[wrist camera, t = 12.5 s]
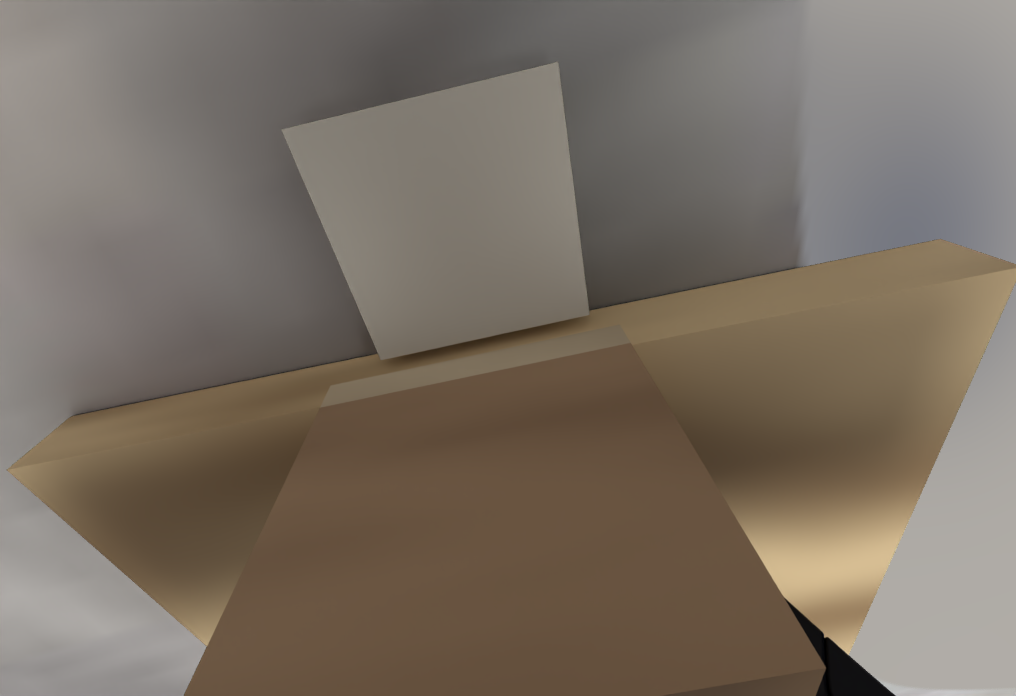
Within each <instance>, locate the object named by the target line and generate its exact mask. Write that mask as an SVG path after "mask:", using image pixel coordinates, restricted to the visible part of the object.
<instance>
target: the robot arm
mask: <svg viewBox="0 0 1016 696" xmlns="http://www.w3.org/2000/svg"><path fill="white" fill-rule="evenodd" d="M784 599H785V600H786V602H787V604H788V605H789V607H790V609H791V610H792V612H793V614H794V615H795V617H796V619H797V620H798V622H799V623H800V625H801V627H802V628H803V630H804V632H805V633H806V635H807V637H808V638H809V640H810V642H811V643H812V645H813V647H814V648H815V650H816V652H817V653H818V655H819V657H820V658H821V660H822V662H823V663H824V665H825V667H826V670H825V672H824V675H823V677H822V680H821V683H820V685H819V688H818V691H817V693H816V696H895V695H894V694H893V693H892V692H890V691H889V690H888V689H887V688H886V687H885V686H883V685H882V684H881V683H880V682H879V681H878V680H876V679H875V678H874V677H873V676H872V675H871V674H870V673H868V672H867V671H866V670H865V669H864V668H863V667H861V666H860V665H859V664H858V663H857V662H856V661H855V660H853V659H852V658H851V657H850V656H849V655H848V654H847V653H846V652H845V651H843V650H842V649H841V648H840V647H839V646H838V645H837V644H836V643H835V642H834V641H832V640H831V639H830V638H829V637H825V638H824V633H823V632H822V631H821V630H820V629H819V628H818V627H817V626H816V625H814V624H813V623H812V622H811V621H810V620H809V619H808V618H807V617H806V616H804V615H803V614H802V613H801V612H800V611H799V610H798V609H797V608H796V607H794V606H793V605H792V604H791V603H790V602H789V601H788V600H787V599H786V598H785V597H784Z"/></svg>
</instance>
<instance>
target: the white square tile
mask: <svg viewBox="0 0 1016 696" xmlns="http://www.w3.org/2000/svg"><path fill="white" fill-rule="evenodd" d="M281 131H282V133H283V135H284V137H285V140H286V142H287V144H288V147H289V149H290V151H291V154H292V156H293V158H294V161H295V163H296V165H297V168H298V170H299V172H300V175H301V177H302V179H303V181H304V184H305V186H306V188H307V191H308V193H309V195H310V198H311V200H312V202H313V205H314V207H315V209H316V212H317V214H318V216H319V219H320V221H321V223H322V225H323V228H324V230H325V232H326V235H327V237H328V239H329V242H330V244H331V246H332V249H333V251H334V253H335V256H336V258H337V260H338V263H339V265H340V267H341V270H342V272H343V274H344V276H345V279H346V281H347V283H348V286H349V288H350V290H351V293H352V295H353V297H354V300H355V302H356V304H357V307H358V309H359V311H360V314H361V316H362V318H363V320H364V323H365V325H366V327H367V330H368V332H369V334H370V337H371V339H372V341H373V344H374V346H375V348H376V351H377V353H378V355H379V358H380V360H385V359H389V358H394V357H399V356H403V355H408V354H412V353H417V352H422V351H426V350H431V349H435V348H440V347H445V346H449V345H454V344H458V343H463V342H468V341H472V340H477V339H481V338H486V337H490V336H495V335H500V334H504V333H509V332H513V331H518V330H523V329H527V328H532V327H536V326H541V325H546V324H550V323H555V322H559V321H564V320H568V319H573V318H578V317H582V316H587V315H590V313H589V305H588V297H587V289H586V281H585V273H584V265H583V257H582V249H581V241H580V233H579V225H578V217H577V209H576V200H575V192H574V184H573V176H572V168H571V160H570V152H569V144H568V136H567V128H566V120H565V112H564V104H563V96H562V88H561V80H560V71H559V63H558V62H554V63H550V64H546V65H542V66H538V67H534V68H530V69H526V70H522V71H518V72H514V73H510V74H505V75H501V76H497V77H493V78H489V79H485V80H481V81H477V82H473V83H469V84H465V85H461V86H456V87H452V88H448V89H444V90H440V91H436V92H432V93H428V94H424V95H420V96H416V97H412V98H408V99H403V100H399V101H395V102H391V103H387V104H383V105H379V106H375V107H371V108H367V109H363V110H359V111H354V112H350V113H346V114H342V115H338V116H334V117H330V118H326V119H322V120H318V121H314V122H310V123H305V124H301V125H297V126H293V127H289V128H285V129H281Z"/></svg>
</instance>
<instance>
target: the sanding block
mask: <svg viewBox="0 0 1016 696" xmlns="http://www.w3.org/2000/svg"><path fill="white" fill-rule="evenodd" d="M825 670H826V667H825V665H824V663H823V662H822V660H821V658H820V657H819V655H818V653H817V652H816V650H815V648H814V647H813V645H812V643H811V642H810V640H809V638H808V637H807V635H806V633H805V632H804V630H803V628H802V627H801V625H800V623H799V622H798V620H797V619H796V617H795V615H794V614H793V612H792V610H791V609H790V607H789V605H788V604H787V602H786V600H785V599H784V597H783V595H782V594H781V592H780V590H779V589H778V587H777V585H776V584H775V582H774V580H773V579H772V577H771V575H770V574H769V572H768V570H767V569H766V567H765V565H764V564H763V562H762V560H761V559H760V557H759V555H758V554H757V552H756V550H755V549H754V547H753V545H752V544H751V542H750V540H749V539H748V537H747V535H746V534H745V532H744V530H743V529H742V527H741V525H740V524H739V522H738V520H737V519H736V517H735V515H734V514H733V512H732V510H731V509H730V507H729V505H728V504H727V502H726V500H725V499H724V497H723V495H722V494H721V492H720V490H719V489H718V487H717V486H716V484H715V482H714V481H713V479H712V477H711V476H710V474H709V472H708V471H707V469H706V467H705V466H704V464H703V462H702V461H701V459H700V457H699V456H698V454H697V452H696V451H695V449H694V447H693V446H692V444H691V442H690V441H689V439H688V437H687V436H686V434H685V432H684V431H683V429H682V427H681V426H680V424H679V422H678V421H677V419H676V417H675V416H674V414H673V412H672V411H671V409H670V407H669V406H668V404H667V402H666V401H665V399H664V397H663V396H662V394H661V392H660V391H659V389H658V387H657V386H656V384H655V382H654V381H653V379H652V377H651V376H650V374H649V372H648V371H647V369H646V367H645V366H644V364H643V362H642V361H641V359H640V357H639V356H638V354H637V353H636V351H635V349H634V348H633V346H632V344H631V343H630V341H629V339H628V338H627V336H626V334H625V333H624V331H623V329H622V328H621V326H620V325H615V326H610V327H605V328H601V329H596V330H591V331H587V332H582V333H577V334H572V335H568V336H563V337H558V338H553V339H549V340H544V341H539V342H534V343H530V344H525V345H520V346H515V347H511V348H506V349H501V350H497V351H492V352H487V353H482V354H478V355H473V356H468V357H463V358H459V359H454V360H449V361H444V362H440V363H435V364H430V365H426V366H421V367H416V368H411V369H407V370H402V371H397V372H392V373H388V374H383V375H378V376H373V377H369V378H364V379H359V380H355V381H350V382H345V383H340V384H336V385H331V386H330V388H329V390H328V392H327V394H326V396H325V398H324V400H323V402H322V405H321V407H320V409H319V411H318V413H317V415H316V417H315V419H314V421H313V424H312V426H311V428H310V430H309V432H308V434H307V436H306V438H305V440H304V443H303V445H302V447H301V449H300V451H299V453H298V455H297V457H296V459H295V462H294V464H293V466H292V468H291V470H290V472H289V474H288V476H287V478H286V481H285V483H284V485H283V487H282V489H281V491H280V493H279V495H278V498H277V500H276V502H275V504H274V506H273V508H272V510H271V512H270V514H269V517H268V519H267V521H266V523H265V525H264V527H263V529H262V531H261V533H260V536H259V538H258V540H257V542H256V544H255V546H254V548H253V550H252V552H251V555H250V557H249V559H248V561H247V563H246V565H245V567H244V569H243V571H242V574H241V576H240V578H239V580H238V582H237V584H236V586H235V588H234V590H233V593H232V595H231V597H230V599H229V601H228V603H227V605H226V607H225V609H224V612H223V614H222V616H221V618H220V620H219V622H218V624H217V626H216V628H215V631H214V633H213V635H212V637H211V639H210V641H209V643H208V645H207V647H206V650H205V652H204V654H203V656H202V658H201V660H200V662H199V664H198V667H197V669H196V671H195V673H194V675H193V677H192V679H191V681H190V683H189V686H188V688H187V690H186V692H185V694H184V696H816V693H817V691H818V688H819V685H820V683H821V680H822V677H823V675H824V672H825Z"/></svg>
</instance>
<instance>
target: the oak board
mask: <svg viewBox="0 0 1016 696" xmlns="http://www.w3.org/2000/svg"><path fill="white" fill-rule="evenodd" d="M1015 283H1016V264H1013V263H1010V262H1007V261H1005V260H1002V259H998V258H996V257H993V256H990V255H987V254H984V253H981V252H978V251H975V250H972V249H969V248H966V247H962V246H960V245H957V244H954V243H951V242H948V241H945V240H942V239H938V240H933V241H928V242H923V243H918V244H914V245H909V246H904V247H898V248H894V249H889V250H884V251H879V252H874V253H869V254H864V255H860V256H854V257H850V258H845V259H840V260H835V261H830V262H825V263H820V264H815V265H810V266H805V267H800V268H796V269H791V270H786V271H781V272H776V273H771V274H766V275H761V276H756V277H752V278H747V279H742V280H737V281H732V282H727V283H722V284H717V285H712V286H707V287H703V288H698V289H693V290H688V291H683V292H678V293H673V294H668V295H663V296H658V297H654V298H649V299H644V300H639V301H634V302H629V303H624V304H619V305H614V306H609V307H605V308H600V309H595V310H590V311H589V313H590V315H587V316H582V317H578V318H573V319H568V320H564V321H559V322H555V323H550V324H546V325H541V326H536V327H532V328H527V329H523V330H518V331H513V332H509V333H504V334H500V335H495V336H490V337H486V338H481V339H477V340H472V341H468V342H463V343H458V344H454V345H449V346H445V347H440V348H435V349H431V350H426V351H422V352H417V353H412V354H408V355H403V356H399V357H394V358H389V359H385V360H380V358H379V355H378V354H374V355H370V356H365V357H360V358H355V359H350V360H345V361H340V362H335V363H330V364H325V365H321V366H316V367H311V368H306V369H301V370H296V371H291V372H286V373H281V374H276V375H272V376H267V377H262V378H257V379H252V380H247V381H242V382H237V383H232V384H227V385H223V386H218V387H213V388H208V389H203V390H198V391H193V392H188V393H183V394H178V395H174V396H169V397H164V398H159V399H154V400H149V401H144V402H139V403H134V404H130V405H125V406H120V407H115V408H110V409H105V410H100V411H95V412H90V413H85V414H81V415H76V416H71V417H70V418H68V419H67V420H66V421H65V422H64V423H62V424H61V425H60V426H59V427H58V428H56V429H55V430H54V431H53V432H52V433H50V434H49V435H48V436H47V437H46V438H44V439H43V440H42V441H41V442H40V443H38V444H37V445H36V446H35V447H34V448H32V449H31V450H30V451H29V452H28V453H26V454H25V455H24V456H23V457H22V458H20V459H19V460H18V461H17V462H16V463H14V464H13V465H12V466H11V467H10V468H8V469H7V471H8V472H9V473H11V474H12V475H13V476H14V477H15V478H16V479H17V480H19V481H20V482H21V483H22V484H23V485H24V486H25V487H27V488H28V489H29V490H30V491H31V492H32V493H33V494H34V495H36V496H37V497H38V498H39V499H40V500H41V501H42V502H44V503H45V504H46V505H47V506H48V507H49V508H50V509H51V510H53V511H54V512H55V513H56V514H57V515H58V516H59V517H61V518H62V519H63V520H64V521H65V522H66V523H67V524H69V525H70V526H71V527H72V528H73V529H74V530H75V531H76V532H78V533H79V534H80V535H81V536H82V537H83V538H84V539H86V540H87V541H88V542H89V543H90V544H91V545H92V546H93V547H95V548H96V549H97V550H98V551H99V552H100V553H101V554H103V555H104V556H105V557H106V558H107V559H108V560H109V561H111V562H112V563H113V564H114V565H115V566H116V567H117V568H118V569H120V570H121V571H122V572H123V573H124V574H125V575H126V576H128V577H129V578H130V579H131V580H132V581H133V582H134V583H135V584H137V585H138V586H139V587H140V588H141V589H142V590H143V591H145V592H146V593H147V594H148V595H149V596H150V597H151V598H153V599H154V600H155V601H156V602H157V603H158V604H159V605H160V606H162V607H163V608H164V609H165V610H166V611H167V612H168V613H170V614H171V615H172V616H173V617H174V618H175V619H176V620H177V621H179V622H180V623H181V624H182V625H183V626H184V627H185V628H187V629H188V630H189V631H190V632H191V633H192V634H193V635H195V636H196V637H197V638H198V639H199V640H200V641H201V642H202V643H204V644H205V645H206V646H207V645H208V643H209V641H210V639H211V637H212V635H213V633H214V631H215V628H216V626H217V624H218V622H219V620H220V618H221V616H222V614H223V612H224V609H225V607H226V605H227V603H228V601H229V599H230V597H231V595H232V593H233V590H234V588H235V586H236V584H237V582H238V580H239V578H240V576H241V574H242V571H243V569H244V567H245V565H246V563H247V561H248V559H249V557H250V555H251V552H252V550H253V548H254V546H255V544H256V542H257V540H258V538H259V536H260V533H261V531H262V529H263V527H264V525H265V523H266V521H267V519H268V517H269V514H270V512H271V510H272V508H273V506H274V504H275V502H276V500H277V498H278V495H279V493H280V491H281V489H282V487H283V485H284V483H285V481H286V478H287V476H288V474H289V472H290V470H291V468H292V466H293V464H294V462H295V459H296V457H297V455H298V453H299V451H300V449H301V447H302V445H303V443H304V440H305V438H306V436H307V434H308V432H309V430H310V428H311V426H312V424H313V421H314V419H315V417H316V415H317V413H318V411H319V409H320V407H321V405H322V402H323V400H324V398H325V396H326V394H327V392H328V390H329V388H330V386H331V385H336V384H340V383H345V382H350V381H355V380H359V379H364V378H369V377H373V376H378V375H383V374H388V373H392V372H397V371H402V370H407V369H411V368H416V367H421V366H426V365H430V364H435V363H440V362H444V361H449V360H454V359H459V358H463V357H468V356H473V355H478V354H482V353H487V352H492V351H497V350H501V349H506V348H511V347H515V346H520V345H525V344H530V343H534V342H539V341H544V340H549V339H553V338H558V337H563V336H568V335H572V334H577V333H582V332H587V331H591V330H596V329H601V328H605V327H610V326H615V325H620V326H621V328H622V329H623V331H624V333H625V334H626V336H627V338H628V339H629V341H630V343H631V344H632V346H633V348H634V349H635V351H636V353H637V354H638V356H639V357H640V359H641V361H642V362H643V364H644V366H645V367H646V369H647V371H648V372H649V374H650V376H651V377H652V379H653V381H654V382H655V384H656V386H657V387H658V389H659V391H660V392H661V394H662V396H663V397H664V399H665V401H666V402H667V404H668V406H669V407H670V409H671V411H672V412H673V414H674V416H675V417H676V419H677V421H678V422H679V424H680V426H681V427H682V429H683V431H684V432H685V434H686V436H687V437H688V439H689V441H690V442H691V444H692V446H693V447H694V449H695V451H696V452H697V454H698V456H699V457H700V459H701V461H702V462H703V464H704V466H705V467H706V469H707V471H708V472H709V474H710V476H711V477H712V479H713V481H714V482H715V484H716V486H717V487H718V489H719V490H720V492H721V494H722V495H723V497H724V499H725V500H726V502H727V504H728V505H729V507H730V509H731V510H732V512H733V514H734V515H735V517H736V519H737V520H738V522H739V524H740V525H741V527H742V529H743V530H744V532H745V534H746V535H747V537H748V539H749V540H750V542H751V544H752V545H753V547H754V549H755V550H756V552H757V554H758V555H759V557H760V559H761V560H762V562H763V564H764V565H765V567H766V569H767V570H768V572H769V574H770V575H771V577H772V579H773V580H774V582H775V584H776V585H777V587H778V589H779V590H780V592H781V594H782V595H783V597H785V598H786V599H787V600H788V601H789V602H790V603H791V604H792V605H793V606H794V607H796V608H797V609H798V610H799V611H800V612H801V613H802V614H803V615H804V616H806V617H807V618H808V619H809V620H810V621H811V622H812V623H813V624H814V625H816V626H817V627H818V628H819V629H820V630H821V631H822V632H823V633H824V638H825V637H829V638H830V639H831V640H832V641H834V642H835V643H836V644H837V645H838V646H839V647H840V648H841V649H842V650H843V651H845V652H846V653H847V654H848V655H849V653H850V650H851V648H852V646H853V644H854V642H855V640H856V637H857V635H858V633H859V631H860V628H861V626H862V624H863V622H864V619H865V617H866V615H867V613H868V611H869V608H870V606H871V604H872V602H873V599H874V597H875V595H876V593H877V590H878V588H879V586H880V584H881V582H882V579H883V577H884V575H885V573H886V570H887V568H888V566H889V564H890V562H891V559H892V557H893V555H894V553H895V550H896V548H897V546H898V544H899V541H900V539H901V537H902V535H903V533H904V530H905V528H906V526H907V524H908V521H909V519H910V517H911V515H912V513H913V510H914V508H915V506H916V504H917V501H918V499H919V497H920V495H921V492H922V490H923V488H924V486H925V484H926V481H927V479H928V477H929V474H930V472H931V470H932V468H933V466H934V463H935V461H936V459H937V457H938V455H939V452H940V450H941V447H942V445H943V443H944V441H945V439H946V437H947V435H948V432H949V430H950V428H951V425H952V423H953V421H954V419H955V417H956V414H957V412H958V410H959V408H960V406H961V403H962V401H963V399H964V396H965V394H966V392H967V390H968V388H969V386H970V383H971V381H972V379H973V377H974V374H975V372H976V370H977V368H978V365H979V363H980V361H981V359H982V357H983V354H984V352H985V350H986V348H987V345H988V343H989V341H990V339H991V336H992V334H993V332H994V330H995V328H996V325H997V323H998V321H999V319H1000V316H1001V314H1002V312H1003V310H1004V307H1005V305H1006V303H1007V301H1008V299H1009V296H1010V294H1011V292H1012V290H1013V287H1014V285H1015Z"/></svg>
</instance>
